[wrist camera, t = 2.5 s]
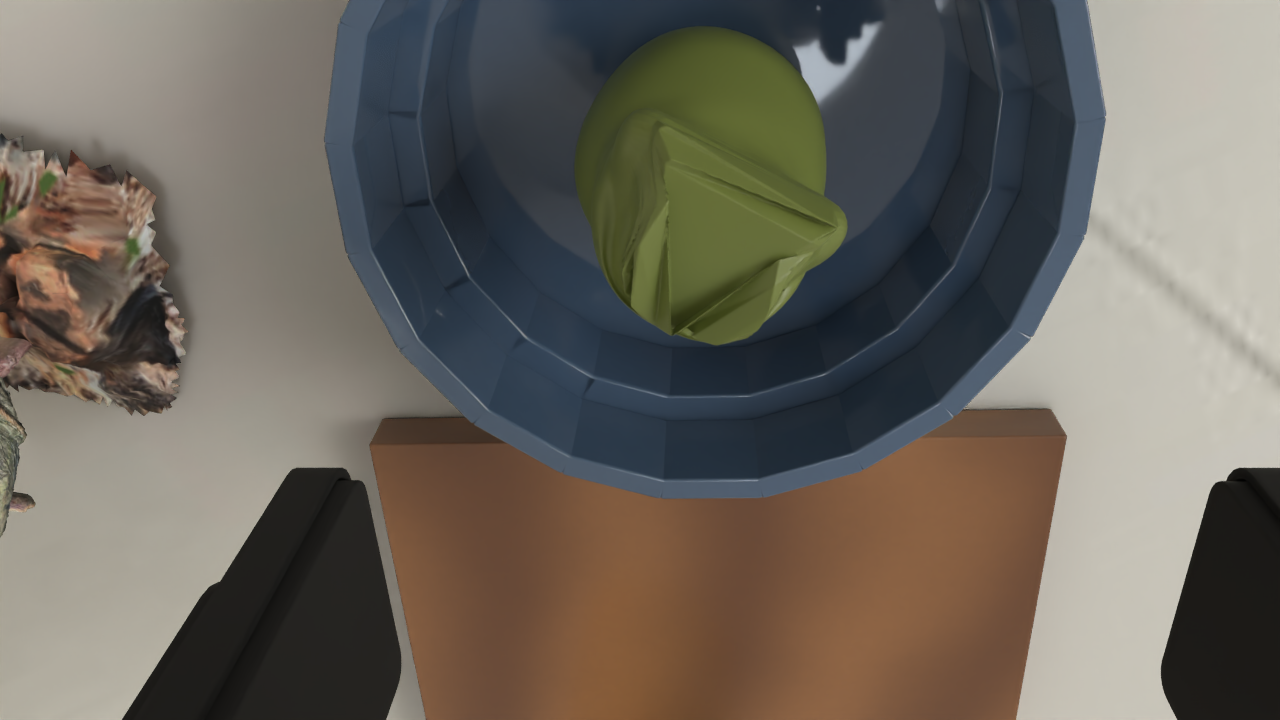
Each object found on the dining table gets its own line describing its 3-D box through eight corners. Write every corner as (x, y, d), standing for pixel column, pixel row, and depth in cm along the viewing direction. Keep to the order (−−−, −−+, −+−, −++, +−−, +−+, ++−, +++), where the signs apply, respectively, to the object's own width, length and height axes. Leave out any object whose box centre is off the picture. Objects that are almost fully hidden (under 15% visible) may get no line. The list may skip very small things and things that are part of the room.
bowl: (447, 382, 30) (394, 502, 25) (353, -218, 23) (248, -229, 18) (979, 373, 29) (1041, 496, 24) (1059, -259, 22) (1176, -283, 16)
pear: (561, 159, 26) (491, 333, 17) (653, -34, 24) (628, 53, 15) (748, 253, 27) (772, 462, 18) (855, 76, 25) (942, 219, 16)
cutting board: (442, 720, 37) (432, 753, 36) (382, 417, 31) (368, 444, 30) (998, 723, 36) (1009, 758, 34) (1051, 408, 30) (1068, 435, 28)
